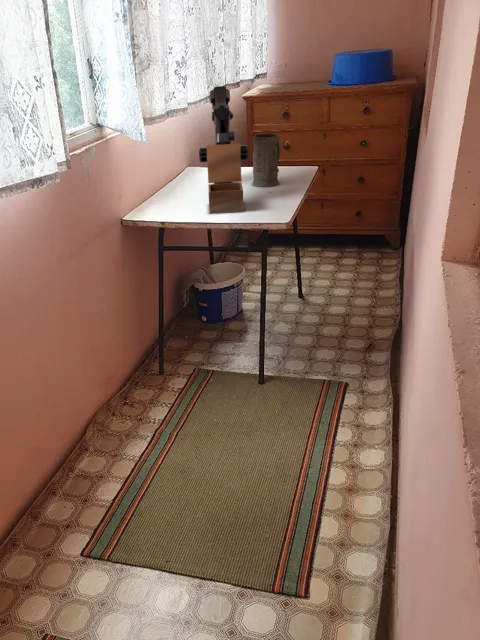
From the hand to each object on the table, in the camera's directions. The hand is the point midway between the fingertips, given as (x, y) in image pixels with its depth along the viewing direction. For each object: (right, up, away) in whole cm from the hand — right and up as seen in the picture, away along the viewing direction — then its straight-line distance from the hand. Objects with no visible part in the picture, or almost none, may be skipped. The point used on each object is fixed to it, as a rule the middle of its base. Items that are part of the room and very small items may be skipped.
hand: (224, 173), depth 230 cm
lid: (0, +3, -3) cm, 4 cm away
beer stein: (+20, +6, +29) cm, 36 cm away
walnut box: (+1, -14, -1) cm, 14 cm away
